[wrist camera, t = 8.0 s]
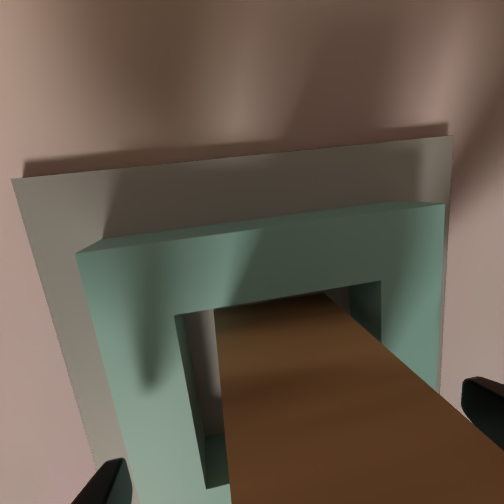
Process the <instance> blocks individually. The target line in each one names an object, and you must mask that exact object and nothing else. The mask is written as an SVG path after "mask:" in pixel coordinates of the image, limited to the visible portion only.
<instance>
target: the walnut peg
mask: <svg viewBox="0 0 504 504" xmlns="http://www.w3.org/2000/svg"><path fill="white" fill-rule="evenodd" d="M214 322H215V333H216V344H217V354H218V365H219V376H220V386H221V397H222V408H223V418H224V429H225V440H226V450H227V461H228V472H229V483H230V493H231V504H504V451H503V450H502V449H501V448H500V447H498V446H497V445H496V444H495V443H494V442H493V441H492V440H491V439H489V438H488V437H487V436H486V435H485V434H484V433H483V432H481V431H480V430H479V429H478V428H477V427H476V426H475V425H473V424H472V423H471V422H470V421H469V420H468V419H467V418H466V417H464V416H463V415H462V414H461V413H460V412H459V411H458V410H456V409H455V408H454V407H453V406H452V405H451V404H450V403H449V402H447V401H446V400H445V399H444V398H443V397H442V396H441V395H439V394H438V393H437V392H436V391H435V390H434V389H433V388H431V387H430V386H429V385H428V384H427V383H426V382H425V381H424V380H422V379H421V378H420V377H419V376H418V375H417V374H416V373H414V372H413V371H412V370H411V369H410V368H409V367H408V366H407V365H405V364H404V363H403V362H402V361H401V360H400V359H399V358H397V357H396V356H395V355H394V354H393V353H392V352H391V351H389V350H388V349H387V348H386V347H385V346H384V345H383V344H382V343H380V342H379V341H378V340H377V339H376V338H375V337H374V336H372V335H371V334H370V333H369V332H368V331H367V330H366V329H365V328H363V327H362V326H361V325H360V324H359V323H358V322H357V321H355V320H354V319H353V318H352V317H351V316H350V315H349V314H347V313H346V312H345V311H344V310H343V309H342V308H341V307H340V306H338V305H337V304H336V303H335V302H334V301H333V300H332V299H330V298H329V297H328V296H327V295H326V294H325V293H318V294H312V295H306V296H300V297H294V298H288V299H282V300H276V301H270V302H264V303H258V304H252V305H246V306H240V307H234V308H229V309H223V310H217V311H214Z"/></svg>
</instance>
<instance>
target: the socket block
mask: <svg viewBox="0 0 504 504" xmlns="http://www.w3.org/2000/svg"><path fill="white" fill-rule="evenodd" d="M453 138H454V135H450V136H440V137H430V138H420V139H410V140H400V141H390V142H380V143H370V144H360V145H350V146H339V147H329V148H319V149H309V150H299V151H289V152H279V153H269V154H259V155H249V156H239V157H229V158H218V159H208V160H198V161H188V162H178V163H168V164H158V165H148V166H138V167H128V168H118V169H108V170H97V171H87V172H77V173H67V174H57V175H47V176H37V177H27V178H17V179H11V181H12V185H13V188H14V192H15V195H16V198H17V202H18V205H19V209H20V212H21V215H22V219H23V222H24V226H25V229H26V232H27V236H28V239H29V242H30V246H31V249H32V253H33V256H34V259H35V263H36V266H37V270H38V273H39V276H40V280H41V283H42V286H43V290H44V293H45V297H46V300H47V303H48V307H49V310H50V314H51V317H52V320H53V324H54V327H55V331H56V334H57V337H58V341H59V344H60V347H61V351H62V354H63V358H64V361H65V364H66V368H67V371H68V375H69V378H70V381H71V385H72V388H73V392H74V395H75V398H76V402H77V405H78V408H79V412H80V415H81V419H82V422H83V425H84V429H85V432H86V436H87V439H88V442H89V446H90V449H91V453H92V456H93V459H94V463H95V466H96V469H97V471H98V470H99V468H100V467H101V466H102V465H103V464H104V463H105V462H106V461H108V460H112V459H116V458H120V457H123V458H125V460H126V462H127V466H128V470H129V474H130V477H131V481H132V487H133V494H132V503H131V504H231V493H230V483H229V472H228V461H227V450H226V440H225V429H224V418H223V408H222V397H221V386H220V376H219V365H218V354H217V344H216V333H215V322H214V311H217V310H223V309H229V308H234V307H240V306H246V305H252V304H258V303H264V302H270V301H276V300H282V299H288V298H294V297H300V296H306V295H312V294H318V293H325V294H326V295H327V296H328V297H329V298H330V299H332V300H333V301H334V302H335V303H336V304H337V305H338V306H340V307H341V308H342V309H343V310H344V311H345V312H346V313H347V314H349V315H350V316H351V317H352V318H353V319H354V320H355V321H357V322H358V323H359V324H360V325H361V326H362V327H363V328H365V329H366V330H367V331H368V332H369V333H370V334H371V335H372V336H374V337H375V338H376V339H377V340H378V341H379V342H380V343H382V344H383V345H384V346H385V347H386V348H387V349H388V350H389V351H391V352H392V353H393V354H394V355H395V356H396V357H397V358H399V359H400V360H401V361H402V362H403V363H404V364H405V365H407V366H408V367H409V368H410V369H411V370H412V371H413V372H414V373H416V374H417V375H418V376H419V377H420V378H421V379H422V380H424V381H425V382H426V383H427V384H428V385H429V386H430V387H431V388H433V389H434V390H435V391H436V392H437V393H438V394H439V395H440V381H441V362H442V343H443V325H444V306H445V287H446V269H447V250H448V231H449V213H450V194H451V175H452V156H453Z"/></svg>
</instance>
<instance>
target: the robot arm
mask: <svg viewBox="0 0 504 504" xmlns="http://www.w3.org/2000/svg"><path fill="white" fill-rule="evenodd" d="M461 406H462V409H463V411H464V413H465V414H466V416H467V417H468V418H469V419H470V421H471V422H472V423H473V424H474V425H475V426H476V427H477V428H478V429H479V430H480V431H481V432H483V433H484V434H485V435H486V436H487V437H488V438H489V439H491V440H492V441H493V442H494V443H495V444H496V445H497V446H498V447H500V448H501V449H502V450H503V451H504V384H501V383H498V382H495V381H492V380H489V379H486V378H483V377H479V376H478V377H472V378H468V379H465V380H464V381H463V384H462V397H461ZM132 494H133V487H132V481H131V477H130V474H129V470H128V466H127V462H126V460H125V458H123V457H120V458H116V459H112V460H108V461H106V462H105V463H104V464H103V465H102V466H101V467H100V468H99V470H98V471H97V472H96V473H95V474H94V476H93V477H92V478H91V479H90V481H89V482H88V483H87V484H86V486H85V487H84V488H83V489H82V491H81V492H80V493H79V494H78V495H77V497H76V498H75V499H74V500H73V502H72V503H71V504H131V503H132Z"/></svg>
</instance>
